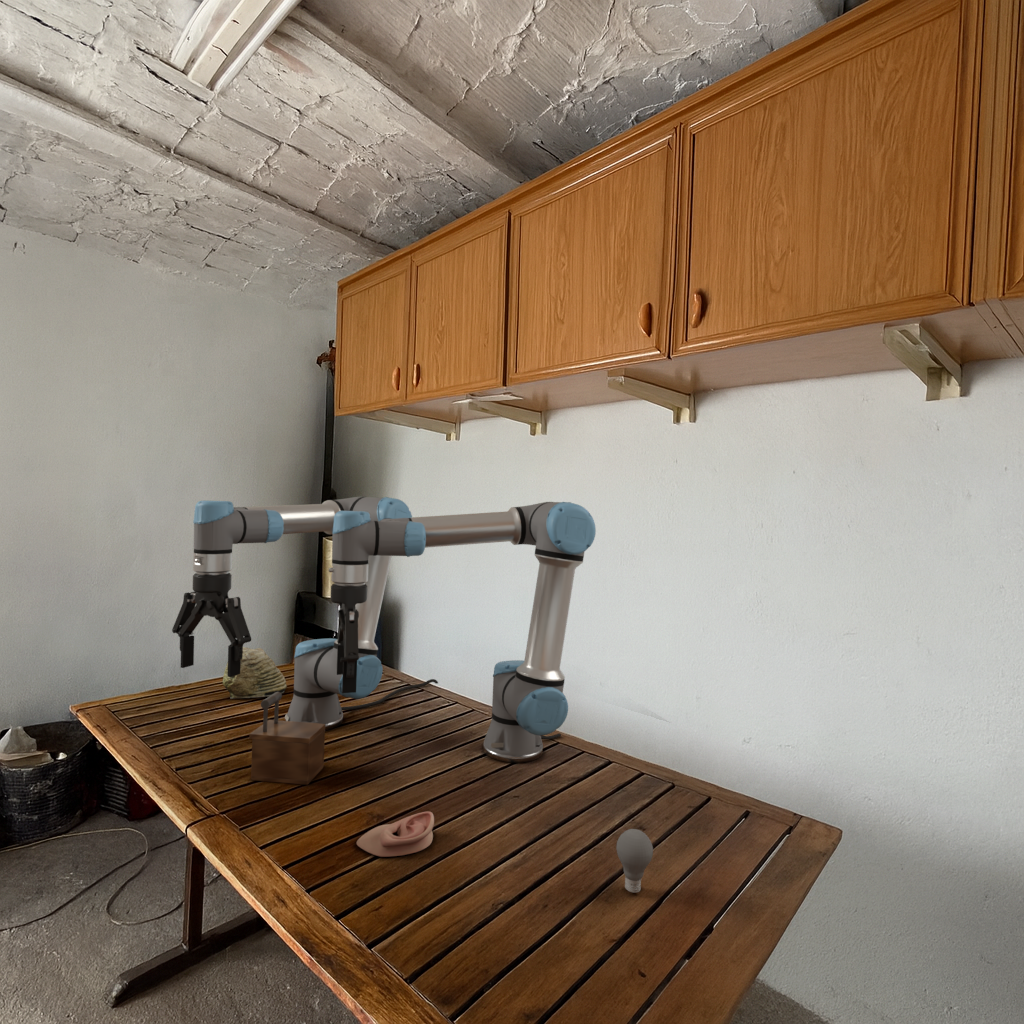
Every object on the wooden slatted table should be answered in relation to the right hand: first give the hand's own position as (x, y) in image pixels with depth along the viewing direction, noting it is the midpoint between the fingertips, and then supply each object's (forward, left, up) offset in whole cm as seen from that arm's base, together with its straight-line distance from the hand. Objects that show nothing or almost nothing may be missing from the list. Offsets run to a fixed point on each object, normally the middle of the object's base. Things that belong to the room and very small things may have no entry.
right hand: (345, 682), depth 135 cm
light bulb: (-43, +47, -24) cm, 68 cm away
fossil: (+20, -74, -24) cm, 80 cm away
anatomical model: (-8, +22, -24) cm, 33 cm away
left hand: (+27, -12, +1) cm, 30 cm away
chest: (+11, -13, -24) cm, 29 cm away
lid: (+11, -13, -15) cm, 23 cm away
